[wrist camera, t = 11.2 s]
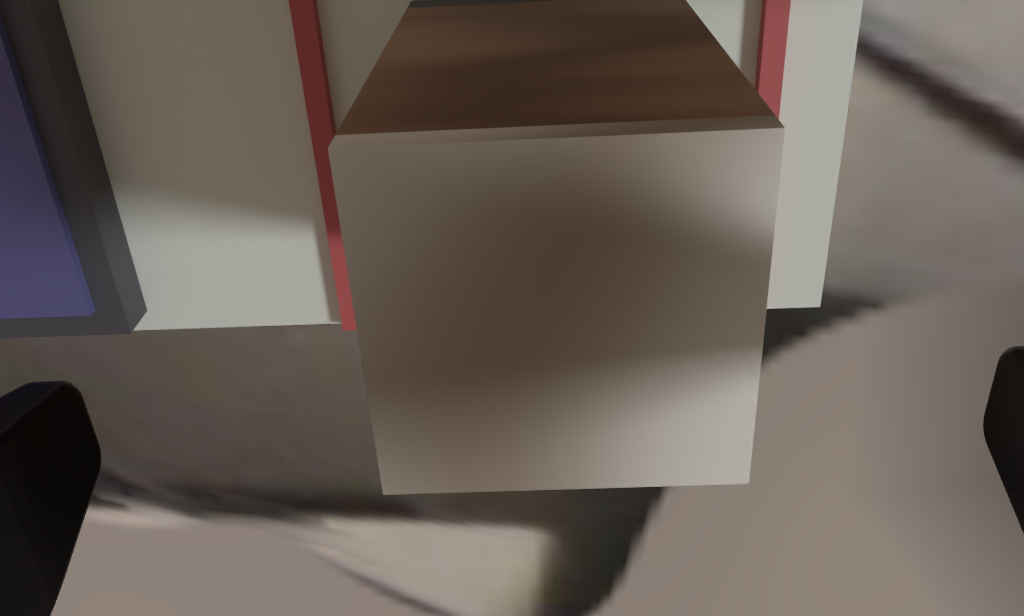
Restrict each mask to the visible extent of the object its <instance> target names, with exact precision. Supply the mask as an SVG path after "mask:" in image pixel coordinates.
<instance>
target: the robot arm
mask: <svg viewBox="0 0 1024 616" xmlns="http://www.w3.org/2000/svg"><path fill="white" fill-rule="evenodd" d="M983 428H984V435H985V439H986V443H987V446H988V448H989V451H990V453H991V455H992V458H993V460H994V463H995V465H996V468H997V470H998V473H999V475H1000V477H1001V480H1002V482H1003V485H1004V487H1005V490H1006V492H1007V494H1008V497H1009V499H1010V502H1011V504H1012V506H1013V509H1014V511H1015V514H1016V516H1017V519H1018V521H1019V523H1020V526H1021V529H1022V531H1023V533H1024V346H1016V347H1010V348H1009V349H1007V350H1006V351H1005V352H1003V354H1002V355H1001V357H1000V359H999V362H998V364H997V368H996V372H995V376H994V380H993V384H992V387H991V391H990V395H989V399H988V403H987V407H986V410H985V415H984V424H983ZM100 466H101V451H100V446H99V443H98V440H97V437H96V434H95V431H94V428H93V425H92V422H91V419H90V417H89V414H88V411H87V408H86V405H85V402H84V399H83V396H82V394H81V392H80V390H79V389H78V387H77V386H76V385H74V384H73V383H71V382H69V381H48V382H32V383H28V384H25V385H23V386H21V387H19V388H17V389H15V390H13V391H11V392H9V393H7V394H5V395H4V396H2V397H0V616H50V615H51V612H52V610H53V608H54V605H55V603H56V600H57V597H58V595H59V592H60V589H61V586H62V584H63V581H64V578H65V575H66V572H67V569H68V566H69V563H70V560H71V556H72V553H73V551H74V547H75V544H76V542H77V538H78V535H79V532H80V529H81V526H82V523H83V520H84V517H85V514H86V511H87V508H88V505H89V502H90V499H91V496H92V493H93V490H94V487H95V484H96V481H97V478H98V475H99V471H100Z"/></svg>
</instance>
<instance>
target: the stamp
mask: <svg viewBox="0 0 1024 616" xmlns="http://www.w3.org/2000/svg"><path fill="white" fill-rule="evenodd" d="M784 133H785V127H784V126H783V125H782V123H781V122H780V121H779V119H778V118H777V117H776V116H775V114H774V113H773V112H772V110H771V109H770V108H769V107H768V105H767V104H766V103H765V101H764V100H763V99H762V98H761V96H760V95H759V94H758V92H757V91H756V90H755V89H754V87H753V86H752V85H751V83H750V82H749V81H748V80H747V78H746V77H745V76H744V74H743V73H742V72H741V71H740V69H739V68H738V67H737V65H736V64H735V63H734V61H733V60H732V59H731V58H730V56H729V55H728V54H727V52H726V51H725V50H724V49H723V47H722V46H721V45H720V43H719V42H718V41H717V40H716V38H715V37H714V36H713V34H712V33H711V32H710V31H709V29H708V28H707V27H706V25H705V24H704V23H703V22H702V20H701V19H700V18H699V16H698V15H697V14H696V13H695V11H694V10H693V9H692V7H691V6H690V5H689V4H688V2H687V1H686V0H418V1H411V2H410V4H409V6H408V7H407V9H406V11H405V13H404V15H403V16H402V18H401V20H400V22H399V23H398V25H397V27H396V29H395V30H394V32H393V34H392V36H391V38H390V39H389V41H388V43H387V45H386V46H385V48H384V50H383V52H382V53H381V55H380V57H379V59H378V60H377V62H376V64H375V66H374V68H373V69H372V71H371V73H370V75H369V76H368V78H367V80H366V82H365V83H364V85H363V87H362V89H361V90H360V92H359V94H358V96H357V98H356V99H355V101H354V103H353V105H352V106H351V108H350V110H349V112H348V113H347V115H346V117H345V119H344V121H343V122H342V124H341V126H340V128H339V129H338V131H337V133H336V135H335V136H334V138H333V140H332V142H331V143H330V145H329V147H328V153H329V160H330V166H331V172H332V178H333V184H334V191H335V197H336V203H337V209H338V216H339V222H340V228H341V234H342V241H343V247H344V253H345V259H346V266H347V272H348V278H349V284H350V290H351V297H352V303H353V309H354V315H355V322H356V328H357V334H358V340H359V347H360V353H361V359H362V365H363V372H364V378H365V384H366V390H367V396H368V403H369V409H370V415H371V421H372V428H373V434H374V440H375V446H376V453H377V459H378V465H379V471H380V478H381V484H382V490H383V495H390V494H423V493H457V492H490V491H524V490H557V489H591V488H624V487H657V486H690V485H722V484H723V485H724V484H749V477H750V467H751V457H752V447H753V437H754V428H755V418H756V408H757V398H758V388H759V378H760V369H761V359H762V349H763V339H764V329H765V319H766V310H767V300H768V290H769V280H770V270H771V261H772V251H773V241H774V231H775V221H776V211H777V202H778V192H779V182H780V172H781V162H782V153H783V143H784Z"/></svg>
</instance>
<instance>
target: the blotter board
mask: <svg viewBox="0 0 1024 616" xmlns="http://www.w3.org/2000/svg"><path fill="white" fill-rule="evenodd" d="M411 1H418V0H0V338H19V337H48V336H78V335H107V334H131V332H132V331H133V330H158V329H187V328H216V327H246V326H275V325H304V324H334V323H342V328H343V331H346V330H357V328H356V322H355V315H354V309H353V303H352V297H351V290H350V284H349V278H348V272H347V266H346V259H345V253H344V247H343V241H342V234H341V228H340V222H339V216H338V209H337V203H336V197H335V191H334V184H333V178H332V172H331V166H330V160H329V153H328V147H329V145H330V143H331V142H332V140H333V138H334V136H335V135H336V133H337V131H338V129H339V128H340V126H341V124H342V122H343V121H344V119H345V117H346V115H347V113H348V112H349V110H350V108H351V106H352V105H353V103H354V101H355V99H356V98H357V96H358V94H359V92H360V90H361V89H362V87H363V85H364V83H365V82H366V80H367V78H368V76H369V75H370V73H371V71H372V69H373V68H374V66H375V64H376V62H377V60H378V59H379V57H380V55H381V53H382V52H383V50H384V48H385V46H386V45H387V43H388V41H389V39H390V38H391V36H392V34H393V32H394V30H395V29H396V27H397V25H398V23H399V22H400V20H401V18H402V16H403V15H404V13H405V11H406V9H407V7H408V6H409V4H410V2H411ZM686 1H687V2H688V4H689V5H690V6H691V7H692V9H693V10H694V11H695V13H696V14H697V15H698V16H699V18H700V19H701V20H702V22H703V23H704V24H705V25H706V27H707V28H708V29H709V31H710V32H711V33H712V34H713V36H714V37H715V38H716V40H717V41H718V42H719V43H720V45H721V46H722V47H723V49H724V50H725V51H726V52H727V54H728V55H729V56H730V58H731V59H732V60H733V61H734V63H735V64H736V65H737V67H738V68H739V69H740V71H741V72H742V73H743V74H744V76H745V77H746V78H747V80H748V81H749V82H750V83H751V85H752V86H753V87H754V89H755V90H756V91H757V92H758V94H759V95H760V96H761V98H762V99H763V100H764V101H765V103H766V104H767V105H768V107H769V108H770V109H771V110H772V112H773V113H774V114H775V116H776V117H777V118H778V119H779V121H780V122H781V123H782V125H783V126H784V127H785V133H784V143H783V153H782V162H781V172H780V182H779V192H778V202H777V211H776V221H775V231H774V241H773V251H772V261H771V270H770V280H769V290H768V300H767V309H773V308H802V307H820V304H821V297H822V290H823V283H824V276H825V269H826V261H827V254H828V247H829V240H830V233H831V226H832V219H833V211H834V204H835V197H836V190H837V183H838V176H839V169H840V161H841V154H842V147H843V140H844V133H845V126H846V119H847V111H848V104H849V97H850V90H851V83H852V76H853V69H854V61H855V54H856V47H857V40H858V33H859V26H860V19H861V11H862V4H863V0H686Z"/></svg>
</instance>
